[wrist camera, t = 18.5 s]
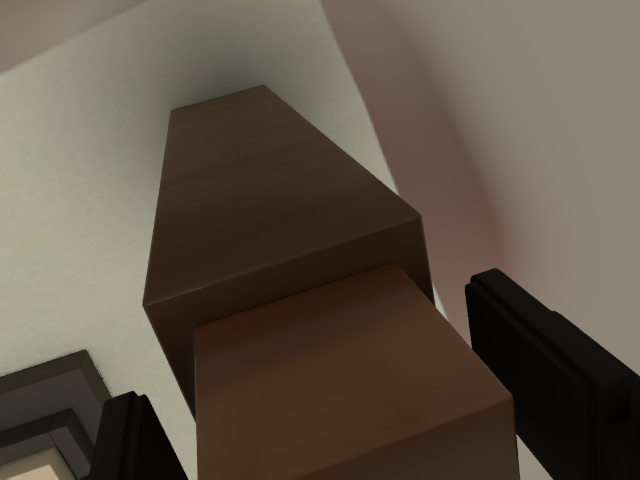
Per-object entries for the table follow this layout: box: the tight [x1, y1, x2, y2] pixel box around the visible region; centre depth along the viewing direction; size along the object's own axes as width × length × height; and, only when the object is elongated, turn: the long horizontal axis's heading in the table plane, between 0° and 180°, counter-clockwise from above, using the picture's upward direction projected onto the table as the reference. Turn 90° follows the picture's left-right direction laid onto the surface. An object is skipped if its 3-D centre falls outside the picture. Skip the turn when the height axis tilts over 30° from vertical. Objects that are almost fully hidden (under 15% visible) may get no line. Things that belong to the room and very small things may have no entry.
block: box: [194, 262, 520, 480], centre depth 10 cm, size 4×4×4 cm
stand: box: [142, 85, 436, 423], centre depth 23 cm, size 6×6×24 cm
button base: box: [0, 350, 111, 480], centre depth 37 cm, size 12×10×4 cm
